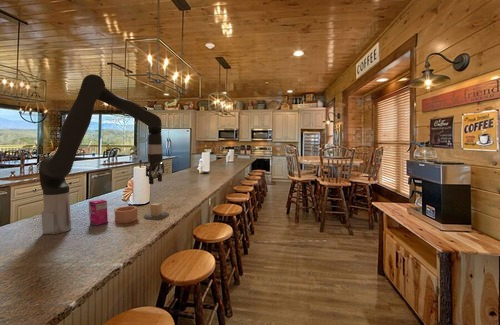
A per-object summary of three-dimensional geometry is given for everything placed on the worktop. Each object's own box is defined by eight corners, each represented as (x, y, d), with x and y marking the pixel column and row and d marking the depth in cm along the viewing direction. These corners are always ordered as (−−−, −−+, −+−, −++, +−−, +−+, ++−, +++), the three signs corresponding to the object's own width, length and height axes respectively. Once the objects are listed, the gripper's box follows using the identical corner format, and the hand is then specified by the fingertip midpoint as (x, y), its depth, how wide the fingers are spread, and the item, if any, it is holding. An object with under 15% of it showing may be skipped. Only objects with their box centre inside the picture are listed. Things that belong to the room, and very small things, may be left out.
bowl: (128, 224, 120) (128, 212, 120) (110, 222, 122) (110, 210, 122) (141, 217, 130) (140, 206, 130) (124, 216, 132) (123, 205, 131)
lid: (161, 220, 126) (160, 207, 126) (138, 219, 129) (138, 206, 128) (173, 213, 139) (173, 201, 139) (152, 212, 142) (152, 200, 141)
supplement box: (89, 224, 119) (88, 201, 118) (101, 221, 124) (100, 198, 123) (96, 226, 116) (95, 202, 115) (108, 223, 121) (107, 200, 120)
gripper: (155, 152, 139) (156, 180, 140) (140, 153, 125) (141, 184, 126) (168, 152, 138) (168, 181, 139) (154, 153, 124) (154, 185, 125)
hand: (155, 182), depth 133 cm, fingers open, 8 cm apart
